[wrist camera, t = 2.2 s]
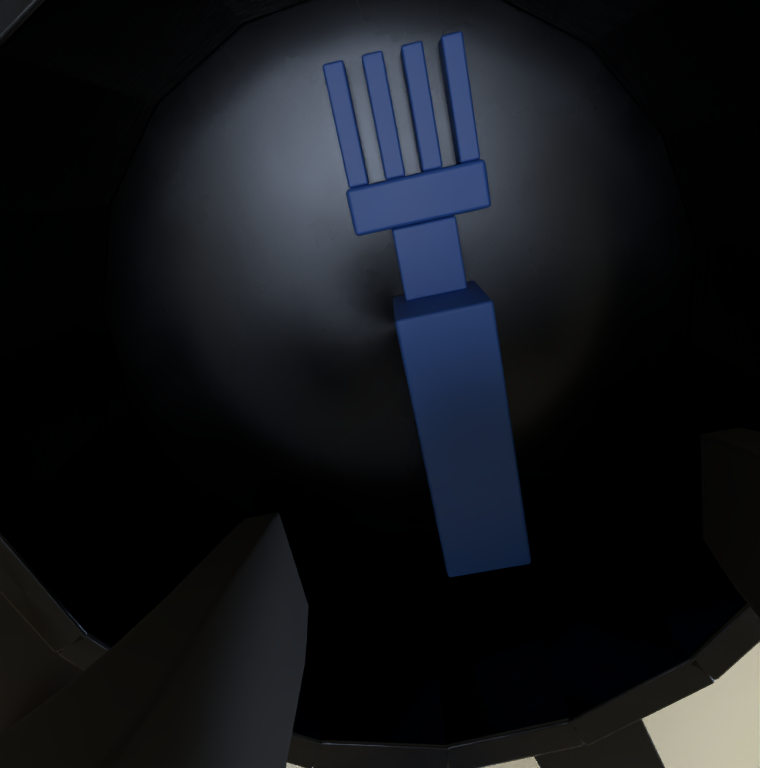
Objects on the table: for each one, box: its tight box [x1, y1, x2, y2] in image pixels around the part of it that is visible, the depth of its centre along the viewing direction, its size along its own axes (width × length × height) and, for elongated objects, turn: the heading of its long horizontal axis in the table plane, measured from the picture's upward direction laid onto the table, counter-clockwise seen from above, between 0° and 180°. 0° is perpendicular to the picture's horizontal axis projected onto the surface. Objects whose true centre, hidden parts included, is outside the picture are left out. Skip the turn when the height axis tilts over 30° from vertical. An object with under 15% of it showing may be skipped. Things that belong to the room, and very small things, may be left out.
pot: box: [0, 0, 760, 768], centre depth 12 cm, size 16×21×6 cm
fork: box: [322, 31, 531, 577], centre depth 13 cm, size 11×3×2 cm, turn 12°
